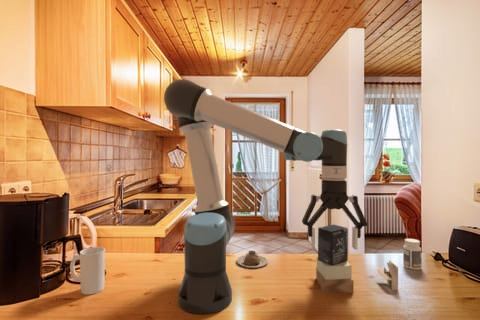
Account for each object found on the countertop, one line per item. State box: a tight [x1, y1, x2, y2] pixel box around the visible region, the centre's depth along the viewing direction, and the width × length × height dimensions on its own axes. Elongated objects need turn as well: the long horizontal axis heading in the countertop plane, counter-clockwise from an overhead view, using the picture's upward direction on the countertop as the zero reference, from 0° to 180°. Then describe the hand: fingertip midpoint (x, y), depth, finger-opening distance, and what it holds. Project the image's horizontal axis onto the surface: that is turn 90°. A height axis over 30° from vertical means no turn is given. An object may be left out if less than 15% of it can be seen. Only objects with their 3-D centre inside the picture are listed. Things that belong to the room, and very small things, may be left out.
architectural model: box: [376, 260, 399, 291], centre depth 85 cm, size 3×7×7 cm, turn 175°
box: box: [317, 224, 349, 266], centre depth 85 cm, size 8×6×11 cm
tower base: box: [315, 266, 354, 294], centre depth 85 cm, size 9×9×4 cm
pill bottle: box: [402, 238, 423, 271], centre depth 99 cm, size 6×6×10 cm
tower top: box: [316, 256, 353, 280], centre depth 85 cm, size 8×8×4 cm
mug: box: [69, 246, 106, 296], centre depth 82 cm, size 10×7×12 cm, turn 91°
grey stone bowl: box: [236, 250, 269, 269], centre depth 103 cm, size 12×12×5 cm
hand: (333, 247), depth 85 cm, fingers open, 12 cm apart
